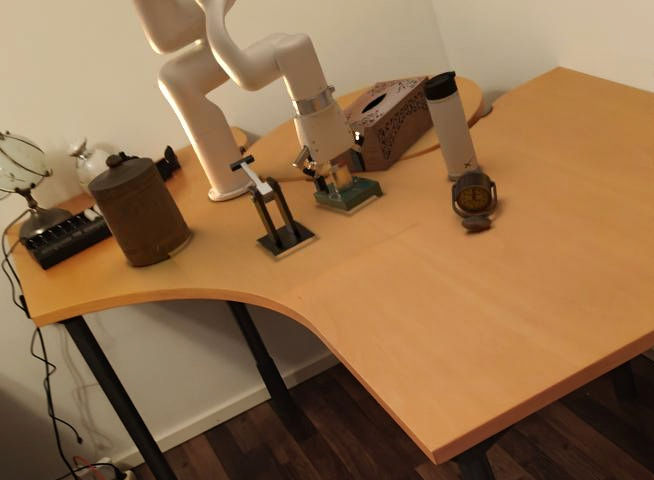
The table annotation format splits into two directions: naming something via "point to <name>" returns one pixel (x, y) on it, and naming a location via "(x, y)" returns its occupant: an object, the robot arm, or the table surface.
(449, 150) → the travel mug
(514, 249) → the table surface
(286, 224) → the black lever stand
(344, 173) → the knob
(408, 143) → the tissue box cover
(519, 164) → the table surface
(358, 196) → the dial panel
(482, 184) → the vintage desk clock
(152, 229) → the wooden container
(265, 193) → the press lever
